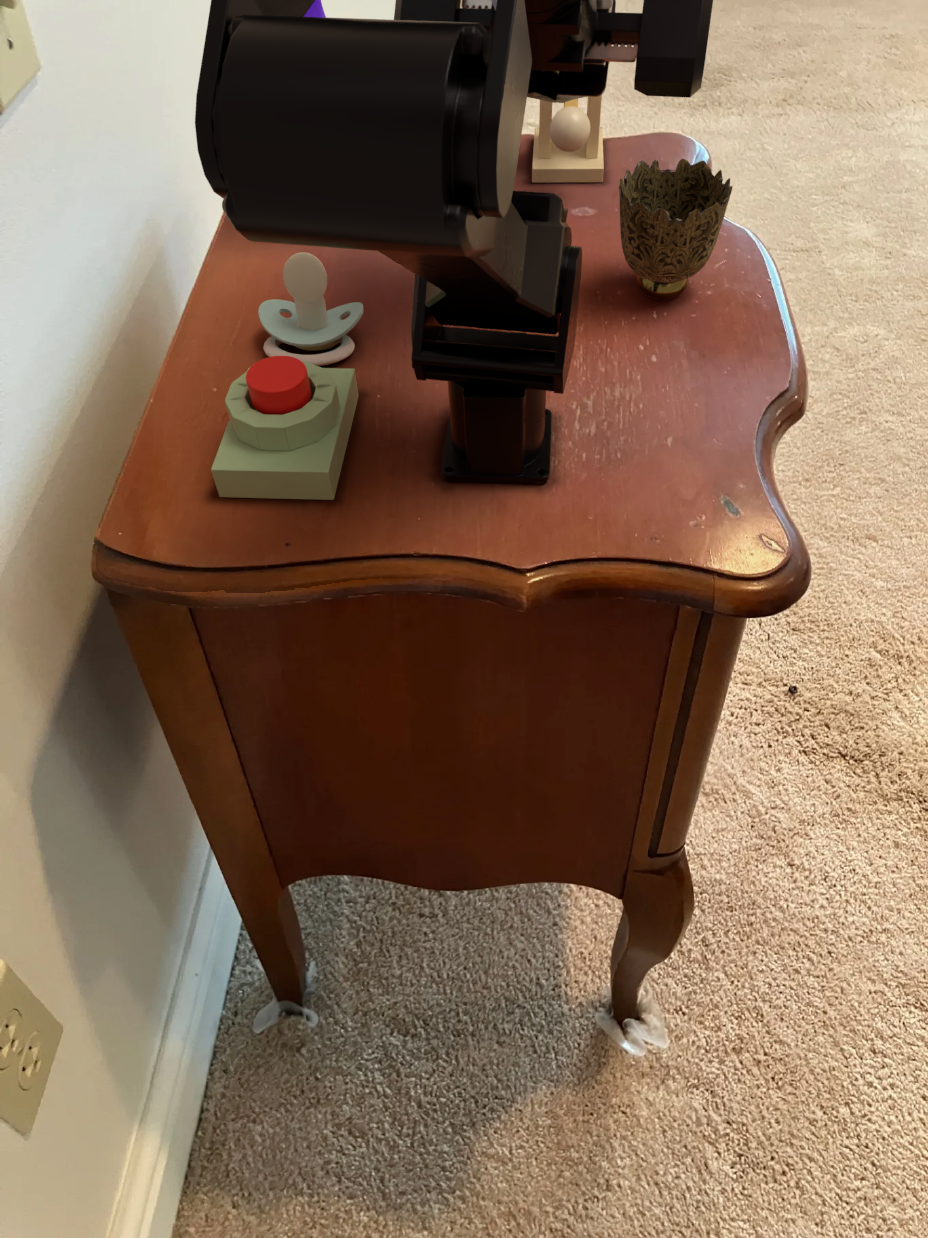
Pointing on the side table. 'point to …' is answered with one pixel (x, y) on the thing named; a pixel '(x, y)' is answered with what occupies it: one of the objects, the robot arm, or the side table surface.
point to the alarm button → (278, 385)
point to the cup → (670, 223)
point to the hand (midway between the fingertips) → (559, 94)
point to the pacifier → (308, 315)
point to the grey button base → (287, 441)
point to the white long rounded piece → (570, 127)
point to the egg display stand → (568, 165)
